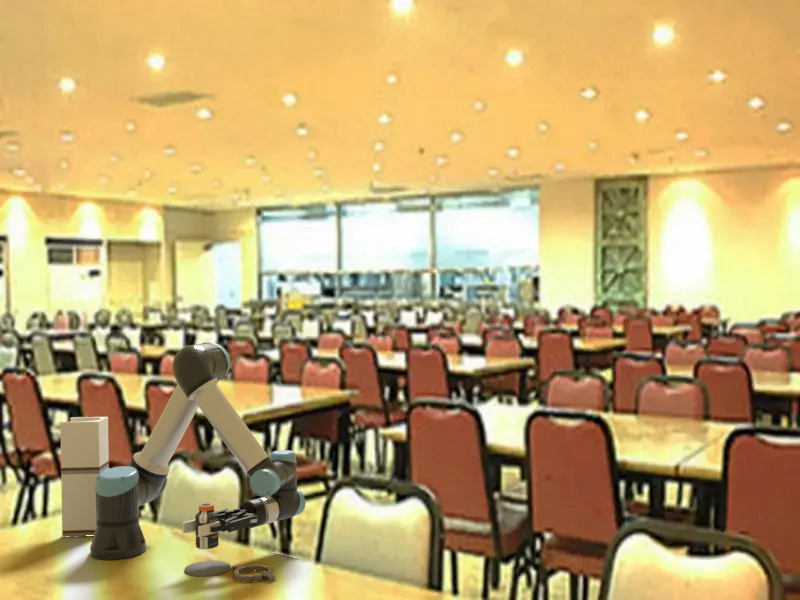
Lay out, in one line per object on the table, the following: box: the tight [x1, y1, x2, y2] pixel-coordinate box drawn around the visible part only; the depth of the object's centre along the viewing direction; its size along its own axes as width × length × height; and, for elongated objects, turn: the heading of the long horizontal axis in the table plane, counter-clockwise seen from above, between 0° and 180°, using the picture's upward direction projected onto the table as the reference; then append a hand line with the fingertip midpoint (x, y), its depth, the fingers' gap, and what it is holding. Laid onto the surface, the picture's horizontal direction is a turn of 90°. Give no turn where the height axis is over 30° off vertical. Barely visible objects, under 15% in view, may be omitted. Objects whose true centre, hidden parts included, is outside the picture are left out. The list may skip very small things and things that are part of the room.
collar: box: [232, 564, 276, 583], centre depth 236 cm, size 15×10×1 cm
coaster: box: [184, 560, 231, 577], centre depth 242 cm, size 12×12×1 cm
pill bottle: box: [194, 502, 220, 550], centre depth 241 cm, size 6×6×11 cm
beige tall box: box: [59, 416, 110, 537], centre depth 280 cm, size 11×11×35 cm
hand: (191, 529), depth 238 cm, fingers closed on pill bottle, 6 cm apart
